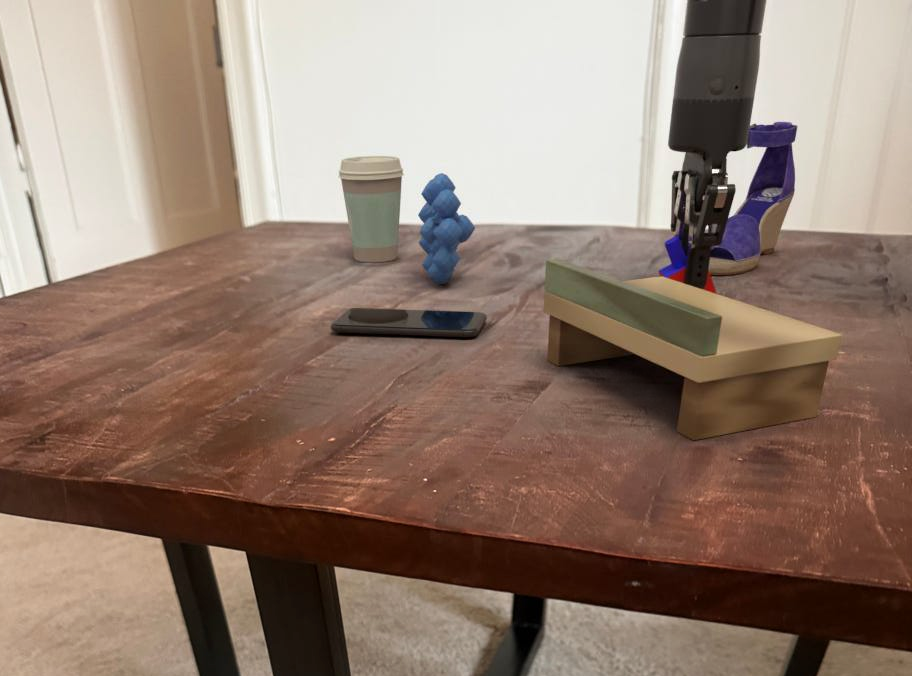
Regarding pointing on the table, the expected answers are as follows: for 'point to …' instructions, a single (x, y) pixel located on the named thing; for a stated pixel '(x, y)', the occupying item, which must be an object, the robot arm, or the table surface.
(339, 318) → the smartphone
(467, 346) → the table surface
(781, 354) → the shoe shelf
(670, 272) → the toy building block
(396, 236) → the coffee cup
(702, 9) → the robot arm
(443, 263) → the grapes
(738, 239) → the sandal
